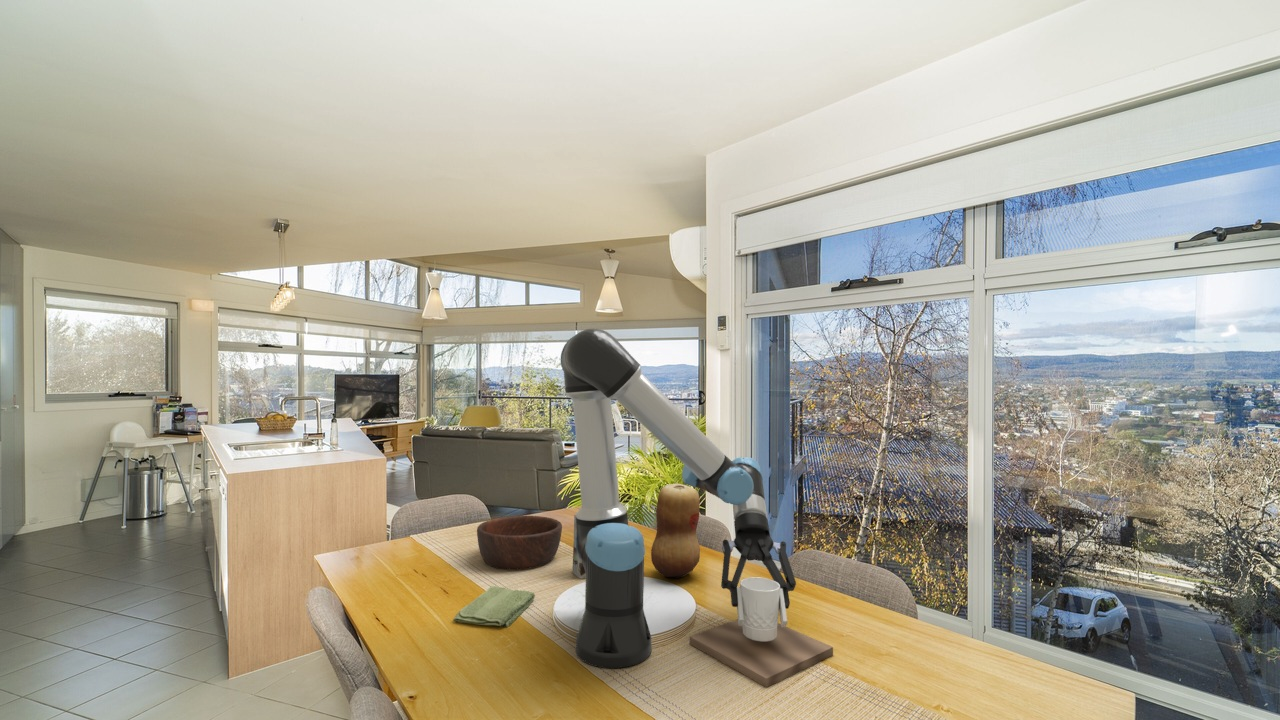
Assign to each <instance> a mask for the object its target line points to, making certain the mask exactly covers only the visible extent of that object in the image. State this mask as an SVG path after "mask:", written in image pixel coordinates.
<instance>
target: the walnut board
mask: <svg viewBox="0 0 1280 720" xmlns="http://www.w3.org/2000/svg"><path fill="white" fill-rule="evenodd" d="M689 644H690V646H693V647H694V648H696V649H698V650H700V651H702V652H703V653H705V654H707V655H708V656H710V657H712V658H714V659H715V660H717V661H719V662H720V663H723V664H724V665H726V666H728V667H730V668H731V669H734V670H735V671H736V672H738V673H740V674H742V675H744V676H746V677H748V678H749V679H751V680H753V681H755V682H756V683H758V684H760V685H762V686H763V687H765V688H769V687H770V686H772V685H774V684H777V683H778V682H781V681H782V680H784V679H787V678H789V677H791V676H793V675H795V674H797V673H799V672H801V671H803V670H805V669H807V668H809V667H811V666H813V665H815V664H818V663H819V662H821V661H823V660H825V659H827V658H830V657H832V656H834V647H833V646H831V645H829V644H826V643H824V642H822V641H820V640H818V639H815V638H812V637H811V636H808V635H807V634H804V633H802V632H799V631H797V630H795V629H793V628H791V627H788V626H786V627H781V623H779V622H778V623H777V637H776V638H775V639H774V640H771V641H764V642H763V641H756V640H752V639H749V638H747V637H746V636H745V635H744V634H743V625H742V626H739V625H738V618H737V619H734V620H732V621H728V622H726V623H724V624H720V625H717V626H714V627H712V628H709V629H706V630H703V631H701V632H698V633H695V634H692V635H689Z"/></svg>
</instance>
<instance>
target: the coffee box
mask: <svg viewBox="0 0 1280 720" xmlns="http://www.w3.org/2000/svg"><path fill="white" fill-rule="evenodd" d="M573 516H574V517H573V518H574V519H573V523H574V524H573V543H572V544H573V545H572V546H573V547H572V548H573V551H572V573H573V574H574V575H575V576H576V577H577V578H579V579H580V580H584V579H586V573H585V569H584V566H583V563H582V561H581V559H580V557H579V555H578V553H577V549H576V534H577V526H576V514H574V515H573Z"/></svg>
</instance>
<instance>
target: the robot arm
mask: <svg viewBox="0 0 1280 720" xmlns="http://www.w3.org/2000/svg"><path fill="white" fill-rule="evenodd" d="M560 366H561V368H562V371H563V379H564V388H565V389H564V392H565V395H566V396H567V397H569V398H570V399H571V400H572V404H573V419H574V429H575V443H576V454H577V465H578V467H577V468H578V477H579V489H580V501H581V502H580V503H581V506H580V509H578V511H577V512H576V514H575V515H576V526H577V534H576V549H577V553H578V555H579V557H580V559H581V561H582V563H583V566H584V569H585V573H586V578H585V589H584V591H585V593H584V594H585V595H584V597H585V598H584V599H585V605H584V613H583V615H582V619H581V621H580V625H579V629H578V632H577V634H576V637H575V654H576V656H577V658H578V659H580V660H581V661H582V662H584V663H586V664H588V665H592V666H594V667H600V668H604V669H605V668H606V669H607V668H608V669H618V668H626V667H627V668H628V667H630V666H634V665H637V664H640V663H642V662H644V661H645V660H646V659H648V658H649V657H650V655H651V653H652V650H653V649H652V644H653V643H652V640H653V639H652V635H651V632H650V628H649V625H648V622H647V618H646V615H645V611H644V583H645V581H644V580H645V579H644V578H645V554H646V547H645V539H644V538H645V537H644V536H643V534H642V532H641V531H640V530H639V529H638V528H636V527H634V526H633V525H629V518H628V509H627V508H626V507H625V506H624V505H623V504H621V501H620V491H619V479H618V469H617V468H618V467H617V466H618V465H617V457H616V456H617V455H616V446H615V445H616V444H615V433H614V420H613V410H612V408H613V407H612V400H616V401H617V402H618V403H619V404H620V405H622V407H624V409H626V411H628V412H629V413H630V415H632V416H633V417H634V419H636V420H637V421H638V422H639V423H640V424H641V425H642V426H643V427H645V429H646V430H648V431H649V432H650V434H652V435H653V436H654V437H655V438H656V439H657V440H658V441H659V442H660V443H661V444H662V445H663V446H664V447H665V448H666V449H667V450H668V451H670V452H671V454H673V455H674V456H675V458H677V459H678V460H679V461H680V462H681V463H682V464H683V466H682V467H683V468H682V473H681V476H682V478H681V479H682V482H683V483H684V485H686V486H689V487H692V488H694V489H695V488H697V489H700V490H704V491H706V492H707V493H708V494H711V495H713V496H715V497H717V498H718V499H720V500H721V501H723V503H726V504H730V505H732V509H733V510H732V511H733V520H734V521H733V524H734V534H735V535H734V536H735V538H734V540H727V539H723V540H722V545H721V549H722V552H723V563H722V572H721V584H720V587H721V588H722V589H723V590H725V589H727V590H728V591H729V593H730V603H731V606H732V607H733V608H735V607H736V609H737V610H736V612H737V619H738V625H739V626H742V625H743V621H744V617H743V606H742V594H741V588H740V586H739V584H740V581H741V580H740V579H741V577H742V573H743V570H744V568H745V566H746V562H747V561H757V562H762V564H763V565H764V566H765V567H766V569H767V572H768V573H769V574H770V576H771V578H772V580H774V581H776V582H777V583H779V585H780V599H779V617H780V619H779V620H780V624H781V627H787V624H788V616H787V615H788V614H787V610H788V609H789V608H790V596H789V592H794V590H795V588H796V586H797V582H796V581H797V580H796V578H795V575H794V572H793V569H792V567H791V563H790V560H789V557H788V554H787V543H786V542H785V541H781V542H775V541H773V538H772V537H771V532H770V527H769V526H770V525H769V520H768V512H767V505H766V501H765V499H766V498H765V491H764V484H763V483H764V481H763V474H762V470H761V467H760V464H759V462H758V461H757V460H755V459H754V458H752V457H750V456H745V457H742V456H741V457H736V458H734V459H733V460H731V459H730V458H729V457H728V456H727V455H726V454H724V452H723V451H721V449H720V448H718V446H717V445H716V444H715V443H713V441H711V439H710V438H709V437H707V436H706V435H705V434H704V432H702V431H701V429H699V427H697V425H695V424H694V423H693V422H692V421H691V420H690V419H689V418H688V417H687V415H685V414H684V413H683V412H682V410H680V409H679V408H678V407H677V405H675V404H674V403H673V402H672V401H671V400H670V399H669V398H668V397H667V396H666V395H664V393H663V392H662V391H661V390H660V389H659V388H658V387H656V385H655V384H653V382H652V381H651V380H650V379H648V378H647V377H646V375H644V374H643V373H642V365H641V364H640V363H639V362H638V361H637V360H636V359H635V358H634V357H633V355H632V354H631V353H629V351H628V350H627V349H626V348H625V347H624V346H623V345H622V344H621V342H619V340H617V338H616V337H614V336H613V335H612V334H611V333H609V332H608V331H606V330H604V329H601V328H586V329H584V330H581V331H578V333H576V334H574V335H573V336H572V337H571V338H569V339H568V340H567V341H566V342H565V344H564V345H563V347H562V351H561V354H560ZM734 548H735V549H736V550H737V551H738V553H739V554H740V558H739V560H738V562H737V566H736V568H735V571H734V573H733V576H732V579H731V580H729V574H730V572H729V571H730V562H731V553H732V552H733V550H734ZM772 549H774V551H775V553H776V554H777V555H778V560H779V563H780V567H781V569H782V573H783V574H782V573H781V571H780V569H779V568H778V566H777V565H776V563H775V561H774V560H773V556H772V554H771V551H772ZM786 609H787V610H786Z"/></svg>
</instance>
